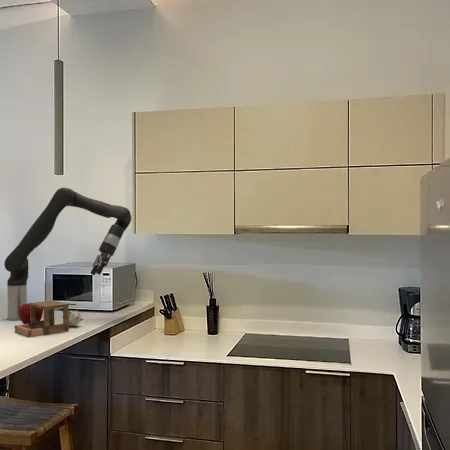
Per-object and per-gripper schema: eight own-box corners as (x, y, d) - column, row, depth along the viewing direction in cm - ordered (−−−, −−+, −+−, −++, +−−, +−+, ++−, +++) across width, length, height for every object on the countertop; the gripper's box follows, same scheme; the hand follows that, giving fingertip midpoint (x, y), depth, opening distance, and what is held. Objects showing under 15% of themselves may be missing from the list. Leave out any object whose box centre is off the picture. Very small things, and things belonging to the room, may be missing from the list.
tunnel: (30, 329, 232) (29, 303, 232) (53, 326, 240) (52, 300, 240) (45, 335, 221) (45, 306, 221) (68, 331, 228) (68, 304, 228)
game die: (69, 334, 239) (62, 316, 243) (86, 326, 241) (79, 308, 246) (65, 328, 231) (58, 309, 235) (83, 320, 234) (76, 302, 238)
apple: (43, 323, 248) (43, 299, 248) (43, 327, 238) (43, 302, 238) (18, 325, 244) (18, 300, 244) (18, 329, 234) (18, 303, 234)
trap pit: (14, 332, 227) (14, 325, 227) (28, 330, 231) (28, 323, 231) (28, 337, 216) (28, 330, 216) (42, 335, 221) (42, 328, 221)
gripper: (98, 242, 256) (83, 271, 250) (108, 239, 244) (92, 270, 239) (111, 249, 259) (97, 278, 254) (121, 247, 247) (106, 277, 242)
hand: (95, 274), depth 246 cm, fingers open, 8 cm apart
